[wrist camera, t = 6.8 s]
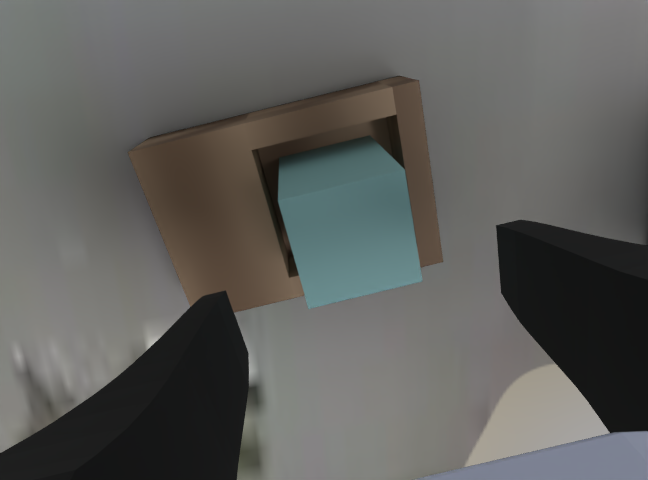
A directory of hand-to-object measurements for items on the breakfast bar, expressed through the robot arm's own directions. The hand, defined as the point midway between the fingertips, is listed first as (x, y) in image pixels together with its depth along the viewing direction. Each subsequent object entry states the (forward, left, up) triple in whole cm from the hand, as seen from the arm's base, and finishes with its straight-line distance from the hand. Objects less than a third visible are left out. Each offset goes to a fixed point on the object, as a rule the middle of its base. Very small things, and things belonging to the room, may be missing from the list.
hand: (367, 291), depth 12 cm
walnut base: (+2, 0, -10) cm, 10 cm away
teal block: (0, 0, -9) cm, 9 cm away
